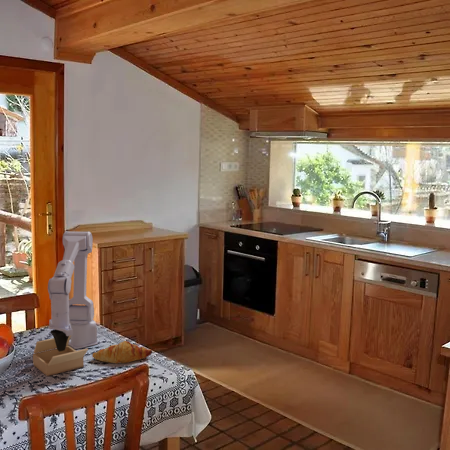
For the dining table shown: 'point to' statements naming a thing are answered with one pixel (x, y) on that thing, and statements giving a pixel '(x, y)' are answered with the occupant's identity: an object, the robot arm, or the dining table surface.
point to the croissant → (122, 353)
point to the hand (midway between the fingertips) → (61, 350)
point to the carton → (44, 358)
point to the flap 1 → (47, 345)
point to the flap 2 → (67, 357)
